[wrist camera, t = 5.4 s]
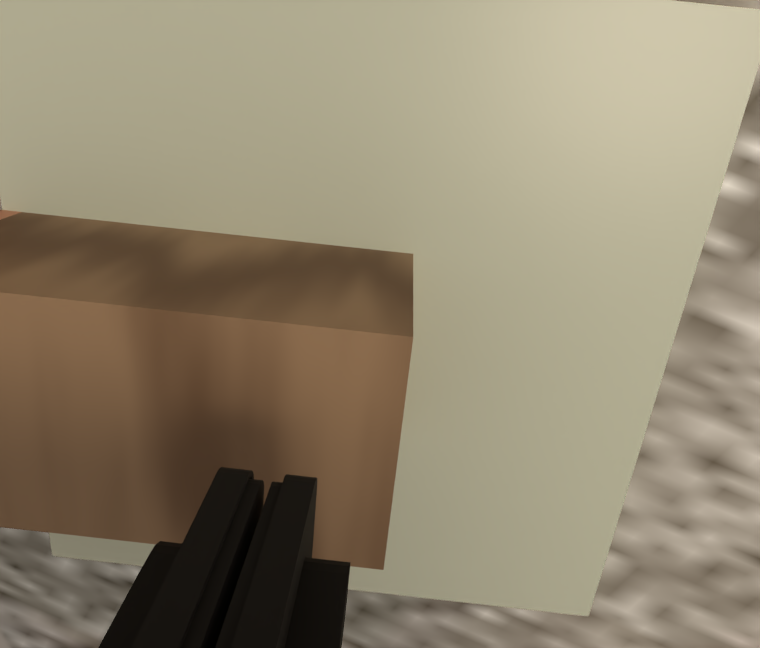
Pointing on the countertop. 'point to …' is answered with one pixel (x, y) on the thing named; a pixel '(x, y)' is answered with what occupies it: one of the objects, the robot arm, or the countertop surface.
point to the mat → (424, 222)
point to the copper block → (196, 377)
